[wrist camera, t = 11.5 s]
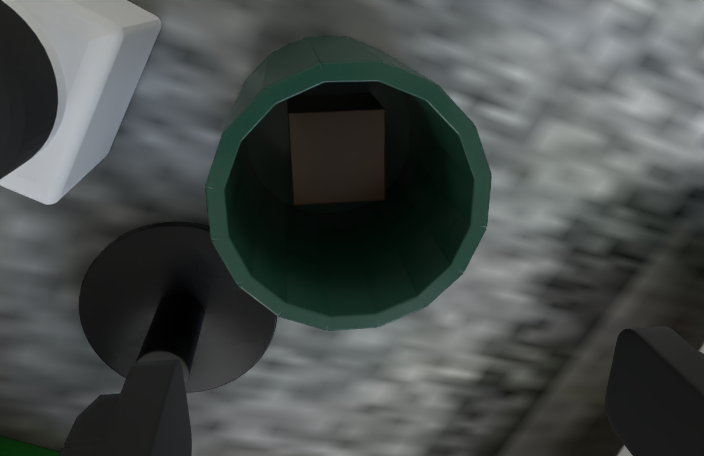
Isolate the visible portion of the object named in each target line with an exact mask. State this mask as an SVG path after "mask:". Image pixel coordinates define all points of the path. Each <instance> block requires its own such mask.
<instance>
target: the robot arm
mask: <svg viewBox="0 0 704 456" xmlns="http://www.w3.org/2000/svg"><path fill="white" fill-rule="evenodd" d="M605 407H606V413H607V417H608V420H609V422H610V425H611V427H612V429H613V430H614V432H615V433H616V434H617V436H618V437H619V438H620V440H621V441H622V442H623V444H624V445H625V446H626V447H627V449H628V450H629V451H630V453H631V454H632V455H633V456H704V354H703V353H701V352H699V351H697V350H696V349H695V348H693V347H692V346H691V345H690V344H689V343H688V342H686V341H685V340H684V339H683V338H682V337H680V336H679V335H678V334H677V333H676V332H675V331H673V330H672V329H671V328H668V327H665V326H662V327H647V328H633V329H625V330H623V331H622V332H621V333H620V334H619V336H618V338H617V342H616V347H615V352H614V357H613V362H612V367H611V372H610V376H609V381H608V386H607V391H606V397H605ZM191 452H192V438H191V427H190V419H189V412H188V405H187V398H186V390H185V383H184V376H183V369H182V364H181V362H180V360H179V359H174V360H159V361H145V362H134V363H133V364H132V366H131V368H130V371H129V373H128V376H127V378H126V381H125V383H124V386H123V388H122V391H121V393H120V394H109V395H100V396H99V397H98V398H97V399H96V400H95V401H94V402H92V403H91V404H90V405H89V406H88V407H87V408H86V409H85V410H84V411H83V412H82V413H81V414H80V415H79V416H78V417H77V418H76V420H75V422H74V424H73V427H72V429H71V431H70V433H69V435H68V437H67V439H66V441H65V447H64V448H62V450H61V452H60V454H59V456H191Z"/></svg>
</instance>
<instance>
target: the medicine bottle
mask: <svg viewBox="0 0 704 456" xmlns="http://www.w3.org/2000/svg"><path fill="white" fill-rule="evenodd" d="M160 29H161V21H160V19H159V18H158V17H157V16H155V15H154V14H152V13H150V12H148V11H146V10H144V9H142V8H140V7H139V6H137V5H135V4H133V3H131V2H129V1H127V0H0V186H3V187H5V188H7V189H10V190H12V191H15V192H17V193H19V194H22V195H24V196H27V197H29V198H31V199H34V200H36V201H38V202H41V203H43V204H48V205H51V204H54V203H57V202H58V201H59V200H60V199H61V198H62V197H63V196H64V195H65V194H66V193H67V192H68V191H70V190H71V189H72V188H73V187H74V186H75V185H76V184H77V183H78V182H79V181H80V180H81V179H82V178H83V177H84V176H86V175H87V174H88V173H89V172H90V171H91V170H92V169H93V168H94V167H95V166H96V165H97V164H98V163H99V162H101V161H102V160H103V159H104V158H105V157H106V156H107V155H108V153H109V151H110V148H111V146H112V144H113V141H114V139H115V136H116V134H117V132H118V129H119V127H120V124H121V122H122V120H123V117H124V115H125V113H126V110H127V108H128V105H129V103H130V101H131V98H132V96H133V93H134V91H135V89H136V86H137V84H138V81H139V79H140V77H141V74H142V72H143V70H144V67H145V65H146V62H147V60H148V58H149V55H150V53H151V50H152V48H153V46H154V43H155V41H156V39H157V36H158V34H159V31H160Z"/></svg>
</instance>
